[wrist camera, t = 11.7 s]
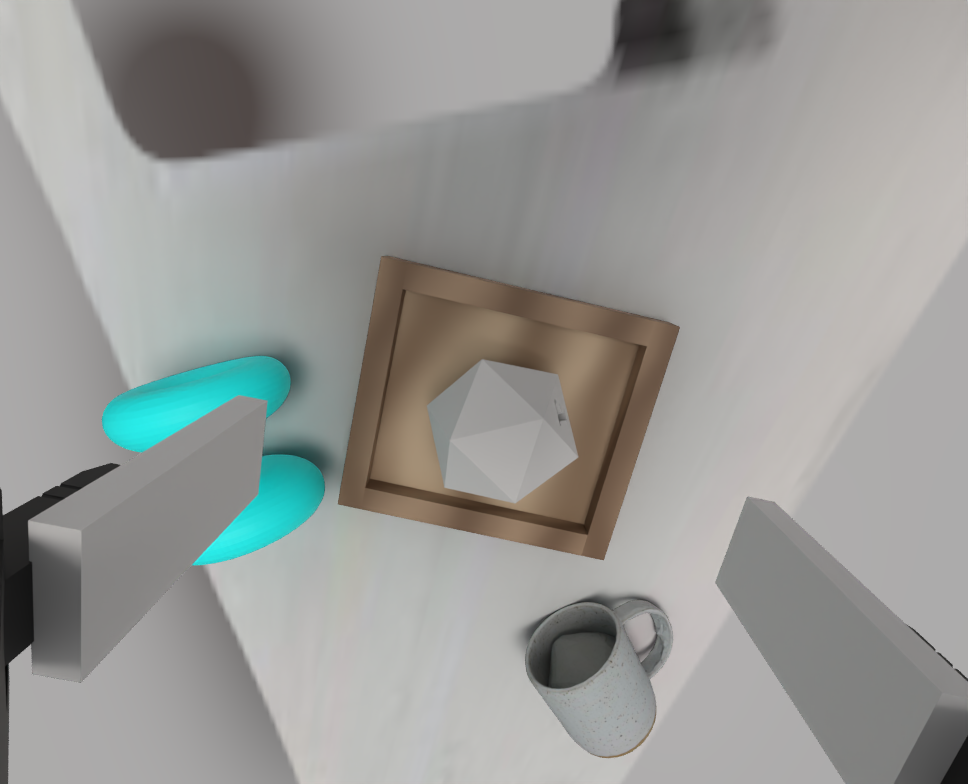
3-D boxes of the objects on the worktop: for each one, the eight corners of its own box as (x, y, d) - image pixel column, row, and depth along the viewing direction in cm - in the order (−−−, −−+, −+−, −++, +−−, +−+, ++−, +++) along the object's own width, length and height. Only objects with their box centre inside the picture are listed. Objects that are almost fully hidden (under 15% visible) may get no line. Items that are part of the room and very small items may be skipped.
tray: (668, 322, 35) (680, 327, 33) (597, 544, 39) (603, 560, 37) (387, 255, 34) (381, 256, 32) (345, 490, 38) (337, 504, 36)
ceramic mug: (567, 700, 43) (584, 790, 36) (519, 627, 41) (527, 706, 34) (683, 645, 42) (725, 726, 35) (639, 567, 40) (674, 636, 33)
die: (535, 485, 38) (625, 477, 30) (422, 516, 34) (489, 517, 26) (508, 373, 39) (589, 335, 31) (396, 391, 35) (452, 352, 27)
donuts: (214, 505, 39) (124, 591, 29) (162, 373, 36) (45, 419, 27) (347, 477, 38) (300, 555, 28) (304, 341, 36) (236, 376, 26)
